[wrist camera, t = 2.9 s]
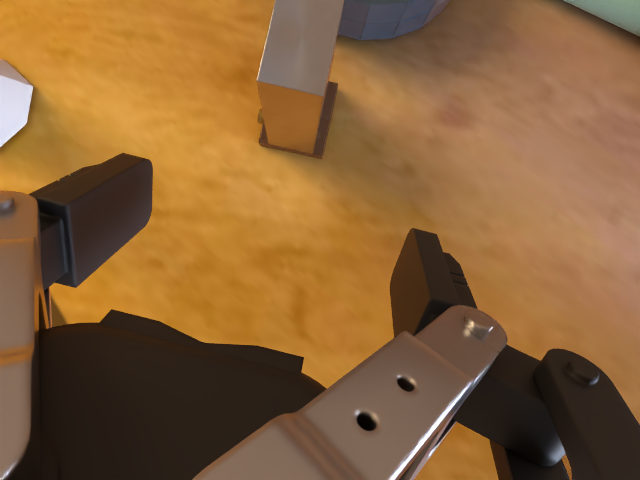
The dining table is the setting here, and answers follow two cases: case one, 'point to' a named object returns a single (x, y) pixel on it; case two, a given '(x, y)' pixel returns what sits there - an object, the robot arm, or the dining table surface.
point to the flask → (13, 101)
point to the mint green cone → (614, 12)
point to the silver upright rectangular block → (298, 75)
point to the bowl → (386, 17)
